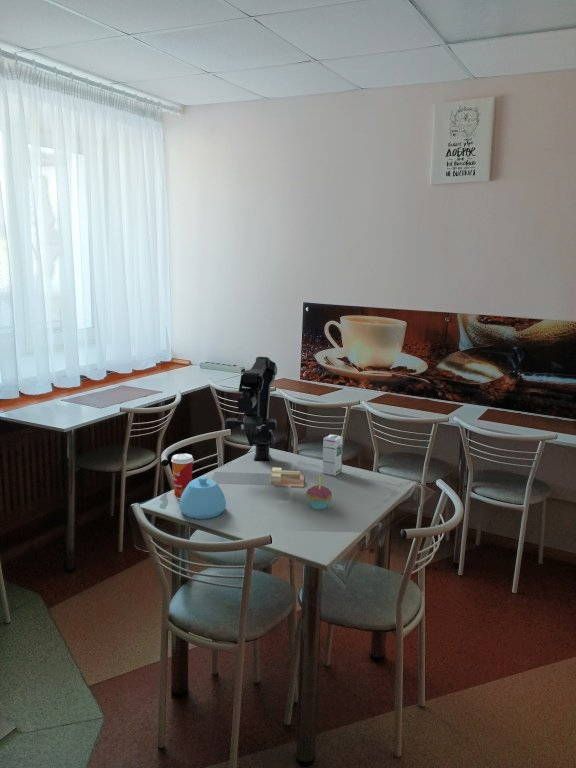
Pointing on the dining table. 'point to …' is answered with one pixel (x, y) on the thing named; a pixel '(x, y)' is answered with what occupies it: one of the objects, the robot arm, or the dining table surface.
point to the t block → (284, 476)
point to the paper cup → (181, 472)
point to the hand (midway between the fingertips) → (250, 445)
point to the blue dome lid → (202, 499)
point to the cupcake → (319, 496)
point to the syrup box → (332, 454)
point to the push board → (251, 479)
